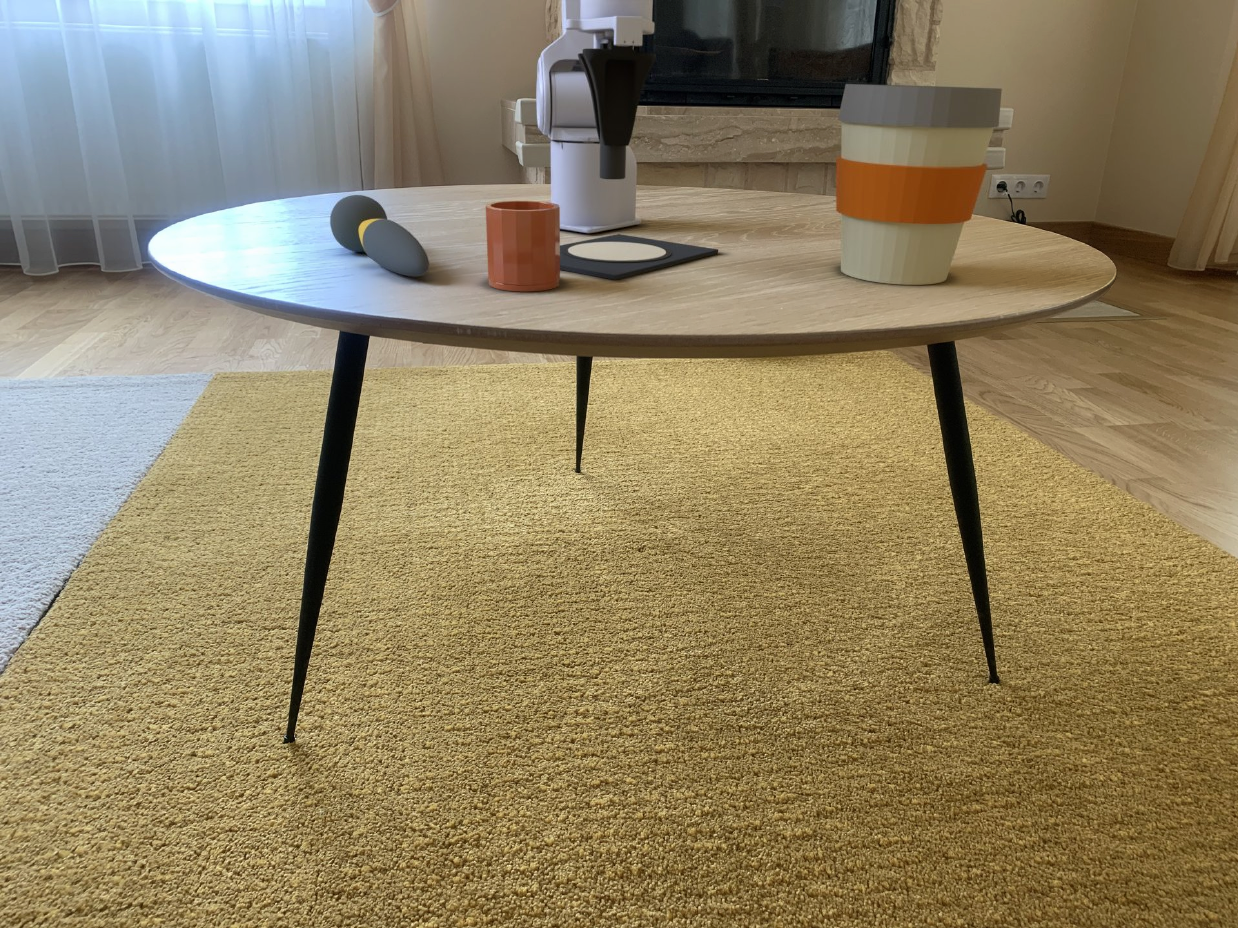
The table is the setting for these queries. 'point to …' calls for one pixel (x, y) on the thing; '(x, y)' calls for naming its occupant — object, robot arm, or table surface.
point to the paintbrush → (377, 236)
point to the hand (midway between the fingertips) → (613, 144)
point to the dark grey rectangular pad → (626, 255)
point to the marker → (612, 161)
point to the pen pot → (523, 245)
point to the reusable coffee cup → (909, 176)
